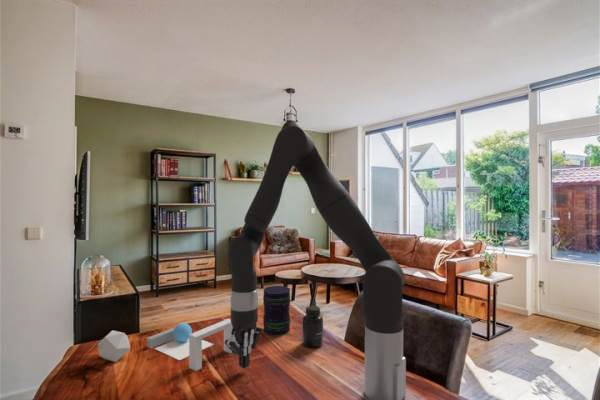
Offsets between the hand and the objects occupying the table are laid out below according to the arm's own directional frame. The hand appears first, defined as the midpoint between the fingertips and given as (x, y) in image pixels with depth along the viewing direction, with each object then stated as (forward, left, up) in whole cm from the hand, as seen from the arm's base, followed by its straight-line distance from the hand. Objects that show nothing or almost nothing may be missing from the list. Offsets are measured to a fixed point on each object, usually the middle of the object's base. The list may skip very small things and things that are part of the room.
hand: (244, 366), depth 95 cm
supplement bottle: (-6, -26, -2) cm, 27 cm away
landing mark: (+27, 0, -2) cm, 27 cm away
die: (+38, +17, -2) cm, 42 cm away
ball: (+31, -2, +2) cm, 31 cm away
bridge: (+13, 0, -2) cm, 13 cm away
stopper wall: (+36, 0, -2) cm, 36 cm away
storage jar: (+11, -28, -2) cm, 30 cm away
